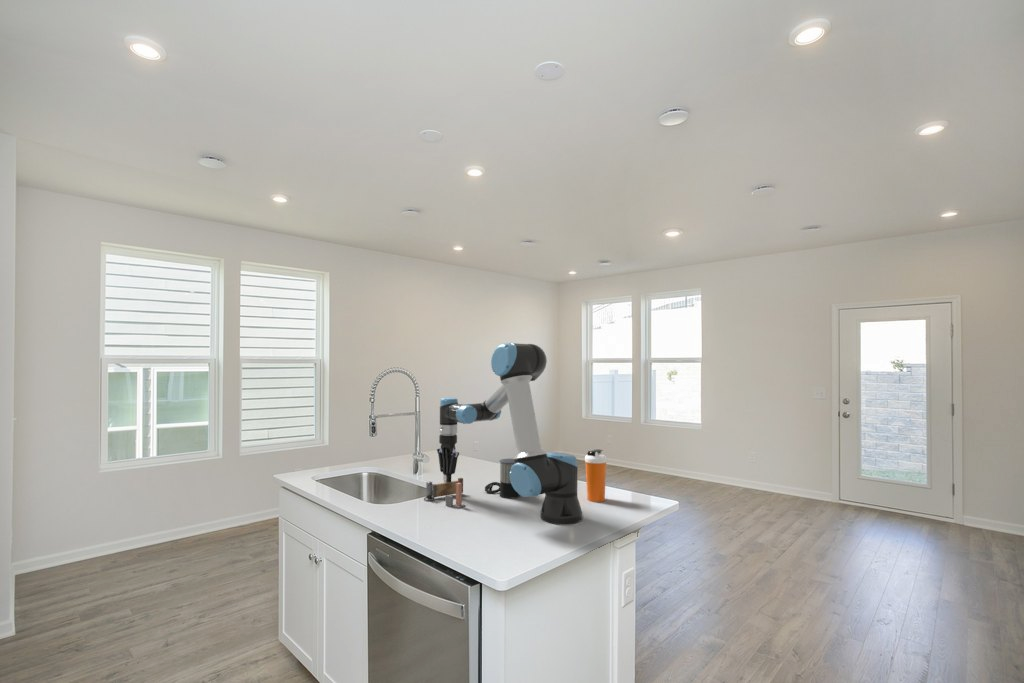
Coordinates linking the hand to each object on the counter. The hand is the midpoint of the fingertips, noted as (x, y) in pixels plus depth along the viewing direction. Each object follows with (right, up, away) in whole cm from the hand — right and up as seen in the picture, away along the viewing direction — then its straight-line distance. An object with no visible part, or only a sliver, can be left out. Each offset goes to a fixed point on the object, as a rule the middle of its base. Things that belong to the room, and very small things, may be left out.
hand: (447, 489), depth 212 cm
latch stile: (+5, -1, -17) cm, 18 cm away
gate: (+1, -1, -3) cm, 3 cm away
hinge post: (-6, -2, -8) cm, 10 cm away
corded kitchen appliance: (+24, -3, +1) cm, 24 cm away
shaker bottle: (+62, -2, -8) cm, 63 cm away
